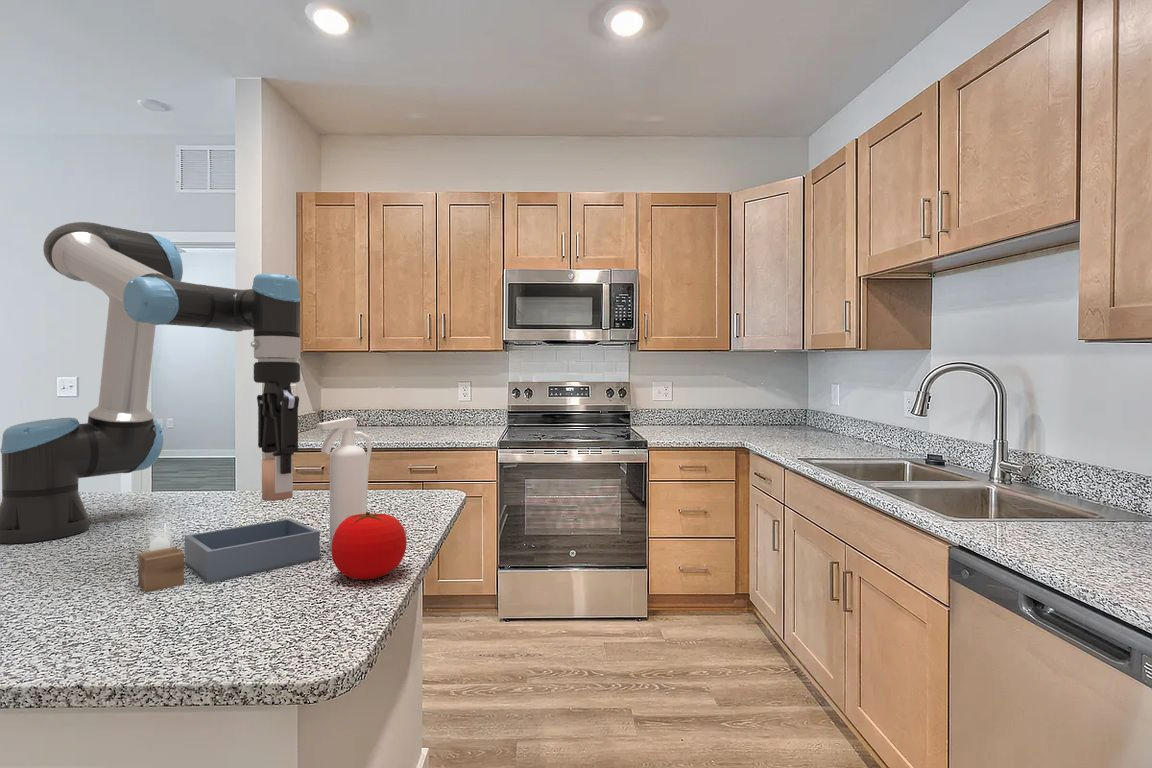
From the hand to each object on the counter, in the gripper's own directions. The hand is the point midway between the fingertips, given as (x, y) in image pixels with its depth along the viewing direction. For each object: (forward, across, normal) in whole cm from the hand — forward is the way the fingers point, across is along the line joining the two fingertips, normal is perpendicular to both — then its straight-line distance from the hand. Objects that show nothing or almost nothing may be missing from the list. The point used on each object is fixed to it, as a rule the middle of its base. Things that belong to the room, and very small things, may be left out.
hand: (277, 489), depth 107 cm
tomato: (+13, +21, +7) cm, 25 cm away
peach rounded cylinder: (+2, 0, 0) cm, 2 cm away
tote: (+12, 0, -4) cm, 13 cm away
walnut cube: (+12, +2, -18) cm, 22 cm away
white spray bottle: (+13, +4, +12) cm, 18 cm away
